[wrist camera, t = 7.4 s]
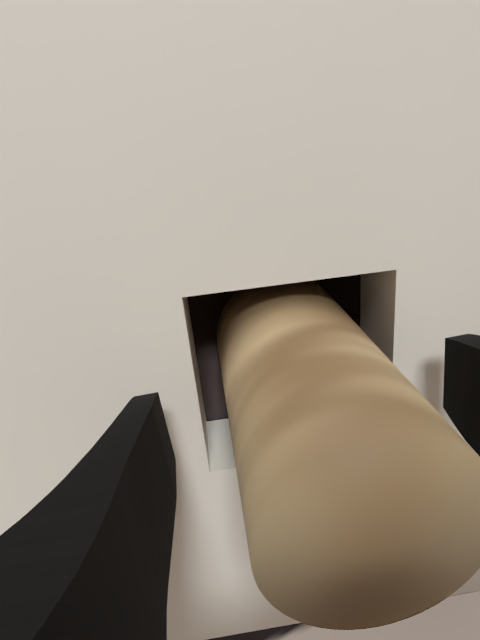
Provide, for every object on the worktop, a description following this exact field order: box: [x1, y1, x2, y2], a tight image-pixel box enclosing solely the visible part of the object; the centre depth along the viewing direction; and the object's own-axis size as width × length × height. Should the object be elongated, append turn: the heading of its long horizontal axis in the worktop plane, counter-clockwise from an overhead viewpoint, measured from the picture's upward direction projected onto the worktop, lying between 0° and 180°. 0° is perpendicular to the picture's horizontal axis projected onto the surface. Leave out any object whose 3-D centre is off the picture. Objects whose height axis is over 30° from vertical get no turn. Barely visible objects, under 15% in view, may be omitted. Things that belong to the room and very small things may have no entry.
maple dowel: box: [216, 281, 480, 630], centre depth 10 cm, size 4×4×8 cm
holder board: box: [0, 0, 480, 640], centre depth 13 cm, size 20×20×2 cm
